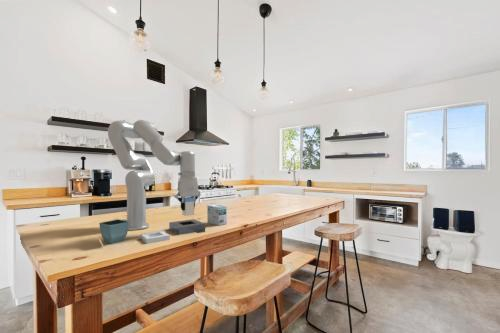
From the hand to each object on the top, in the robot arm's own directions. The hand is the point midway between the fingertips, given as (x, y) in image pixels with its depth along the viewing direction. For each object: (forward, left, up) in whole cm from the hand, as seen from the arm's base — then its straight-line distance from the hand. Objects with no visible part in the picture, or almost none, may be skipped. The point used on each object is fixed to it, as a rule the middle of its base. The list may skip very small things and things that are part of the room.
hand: (187, 209), depth 129 cm
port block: (0, 0, -11) cm, 11 cm away
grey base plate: (-8, -18, -11) cm, 23 cm away
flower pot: (-24, -24, -12) cm, 36 cm away
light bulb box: (+11, +19, -12) cm, 25 cm away
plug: (0, 0, -3) cm, 3 cm away
